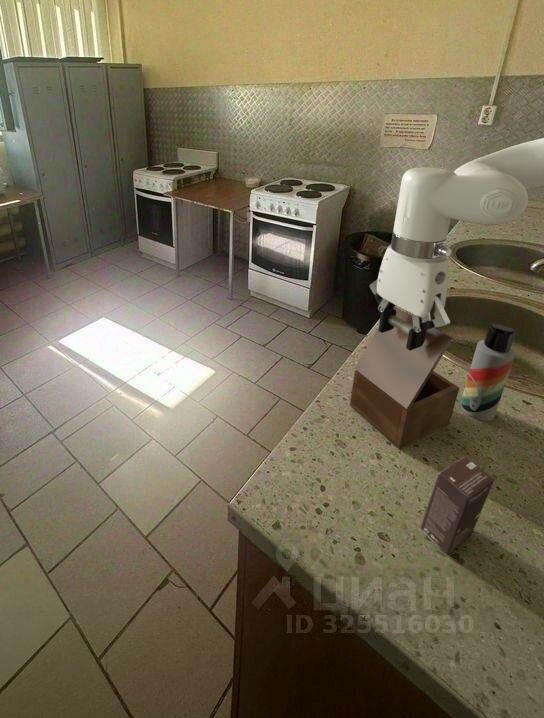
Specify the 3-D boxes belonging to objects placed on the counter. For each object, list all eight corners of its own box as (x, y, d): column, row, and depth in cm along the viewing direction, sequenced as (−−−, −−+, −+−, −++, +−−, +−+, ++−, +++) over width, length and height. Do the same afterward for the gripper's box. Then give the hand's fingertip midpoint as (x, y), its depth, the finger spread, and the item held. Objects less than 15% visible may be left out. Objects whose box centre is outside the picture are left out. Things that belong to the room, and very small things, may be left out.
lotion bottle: (456, 410, 80) (479, 326, 72) (464, 396, 83) (488, 314, 76) (490, 426, 76) (518, 339, 68) (497, 411, 79) (525, 326, 72)
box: (449, 558, 55) (469, 498, 51) (418, 528, 59) (435, 470, 54) (475, 537, 57) (496, 478, 53) (444, 510, 61) (461, 453, 57)
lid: (393, 306, 77) (379, 299, 74) (453, 338, 67) (439, 331, 64) (356, 369, 78) (341, 364, 76) (409, 409, 68) (393, 406, 66)
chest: (397, 385, 87) (404, 351, 83) (449, 423, 77) (459, 387, 73) (349, 405, 82) (354, 370, 78) (398, 449, 71) (407, 411, 68)
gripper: (487, 259, 58) (460, 360, 65) (389, 226, 73) (376, 311, 79) (453, 269, 55) (429, 373, 62) (359, 232, 70) (347, 320, 77)
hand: (399, 337), depth 71 cm, fingers closed on lid, 5 cm apart
